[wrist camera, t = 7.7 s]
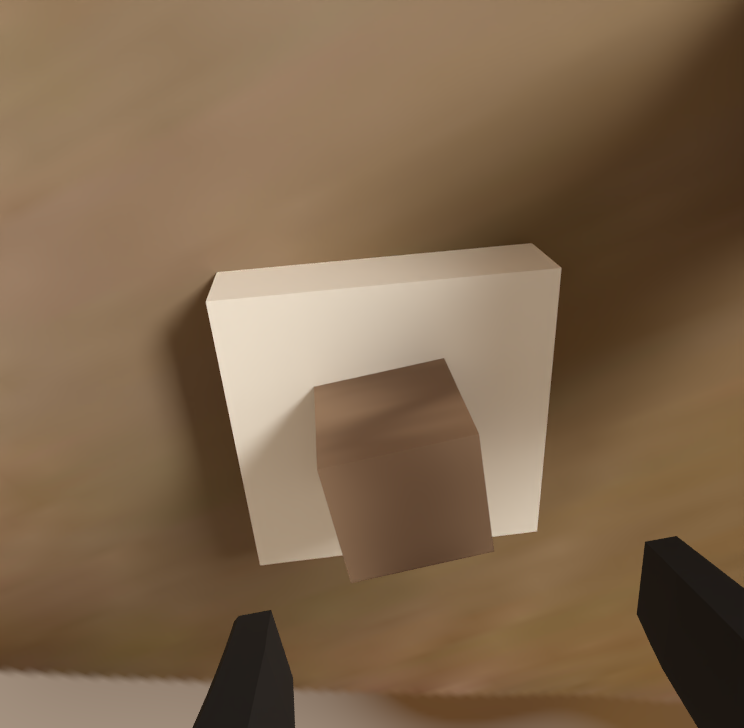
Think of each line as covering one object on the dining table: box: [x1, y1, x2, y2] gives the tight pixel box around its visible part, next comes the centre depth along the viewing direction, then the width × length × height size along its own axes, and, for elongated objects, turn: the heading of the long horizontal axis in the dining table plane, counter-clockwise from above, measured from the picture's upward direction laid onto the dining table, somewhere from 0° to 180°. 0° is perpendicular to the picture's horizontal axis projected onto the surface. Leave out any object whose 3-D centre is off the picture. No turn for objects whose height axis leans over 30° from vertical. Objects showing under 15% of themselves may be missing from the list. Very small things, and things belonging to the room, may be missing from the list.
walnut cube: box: [314, 358, 494, 583], centre depth 17 cm, size 4×4×4 cm
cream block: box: [206, 243, 561, 565], centre depth 20 cm, size 10×10×3 cm
